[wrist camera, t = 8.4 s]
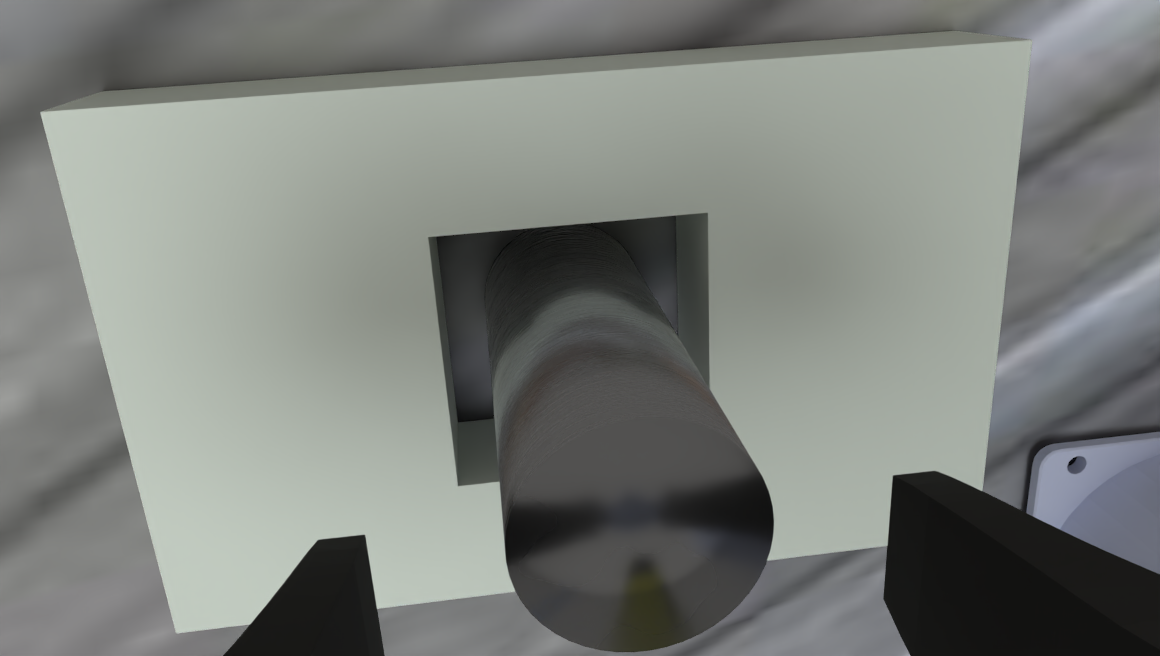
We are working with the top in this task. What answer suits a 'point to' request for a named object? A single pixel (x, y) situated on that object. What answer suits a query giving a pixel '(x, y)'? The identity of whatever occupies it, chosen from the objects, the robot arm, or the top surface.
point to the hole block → (519, 201)
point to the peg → (613, 453)
